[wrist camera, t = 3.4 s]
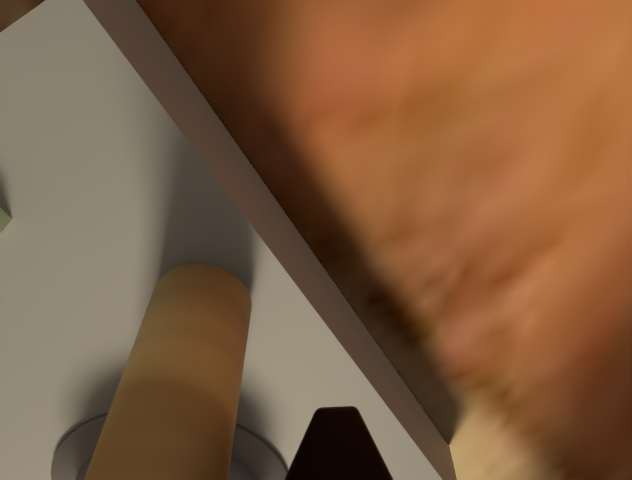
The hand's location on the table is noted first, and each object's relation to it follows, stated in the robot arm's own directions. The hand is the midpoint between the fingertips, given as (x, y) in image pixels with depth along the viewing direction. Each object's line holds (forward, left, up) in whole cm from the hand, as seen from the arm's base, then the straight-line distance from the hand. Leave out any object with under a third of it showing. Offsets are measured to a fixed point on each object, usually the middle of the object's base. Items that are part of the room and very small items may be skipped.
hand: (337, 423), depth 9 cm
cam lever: (-2, +5, -3) cm, 7 cm away
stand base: (-1, +8, -6) cm, 10 cm away
